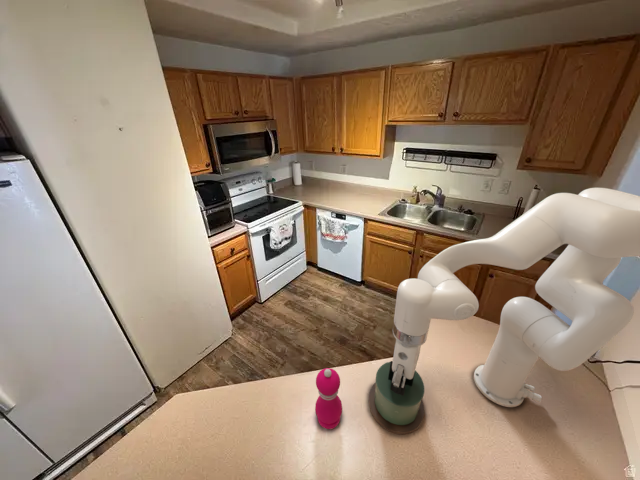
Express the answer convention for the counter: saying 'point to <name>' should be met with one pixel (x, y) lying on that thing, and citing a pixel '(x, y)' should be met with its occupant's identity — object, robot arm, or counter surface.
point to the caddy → (397, 396)
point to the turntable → (390, 426)
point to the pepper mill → (328, 398)
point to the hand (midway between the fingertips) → (402, 375)
